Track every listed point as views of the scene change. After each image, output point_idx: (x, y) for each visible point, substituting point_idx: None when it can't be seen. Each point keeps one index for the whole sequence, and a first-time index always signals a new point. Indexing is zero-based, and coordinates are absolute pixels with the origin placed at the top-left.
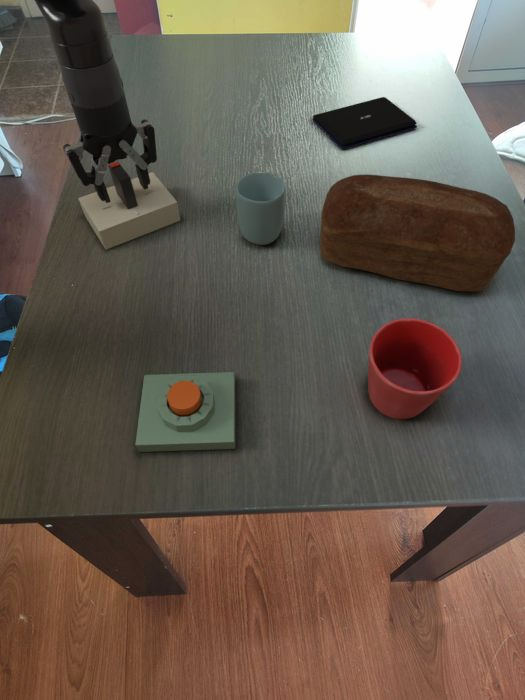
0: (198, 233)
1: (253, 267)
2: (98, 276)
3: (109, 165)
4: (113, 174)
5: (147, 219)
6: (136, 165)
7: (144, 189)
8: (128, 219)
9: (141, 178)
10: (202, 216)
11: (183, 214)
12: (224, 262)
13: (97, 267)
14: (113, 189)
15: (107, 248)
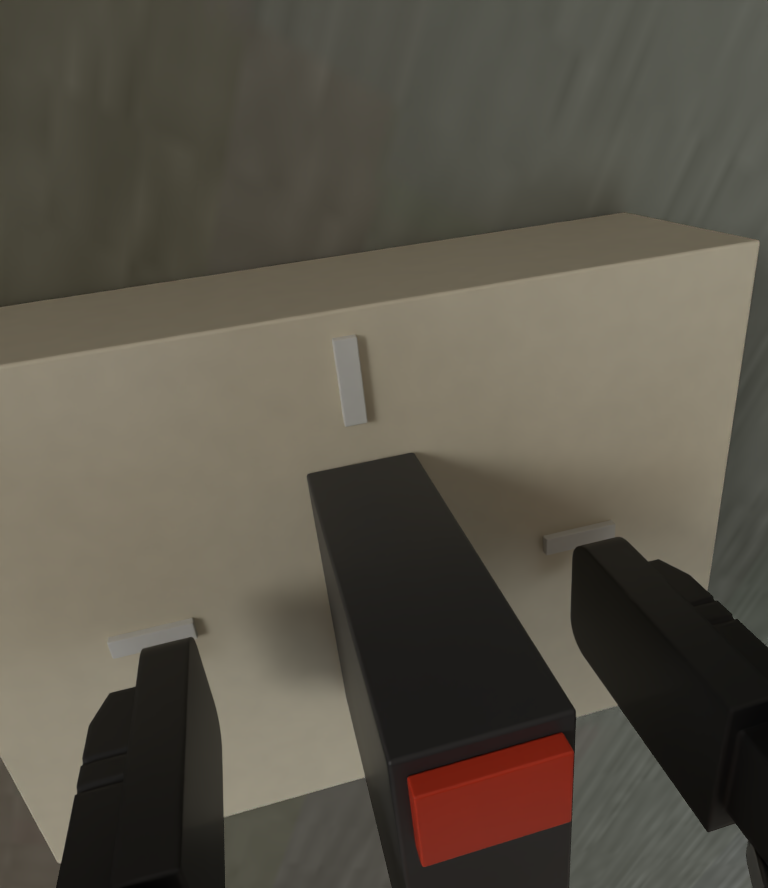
0: None
1: (695, 875)
2: (24, 868)
3: (408, 787)
4: (392, 838)
5: None
6: (735, 726)
7: (573, 631)
8: (316, 787)
9: (641, 716)
10: (717, 577)
11: None
12: (623, 847)
13: (21, 816)
14: (286, 387)
15: None
